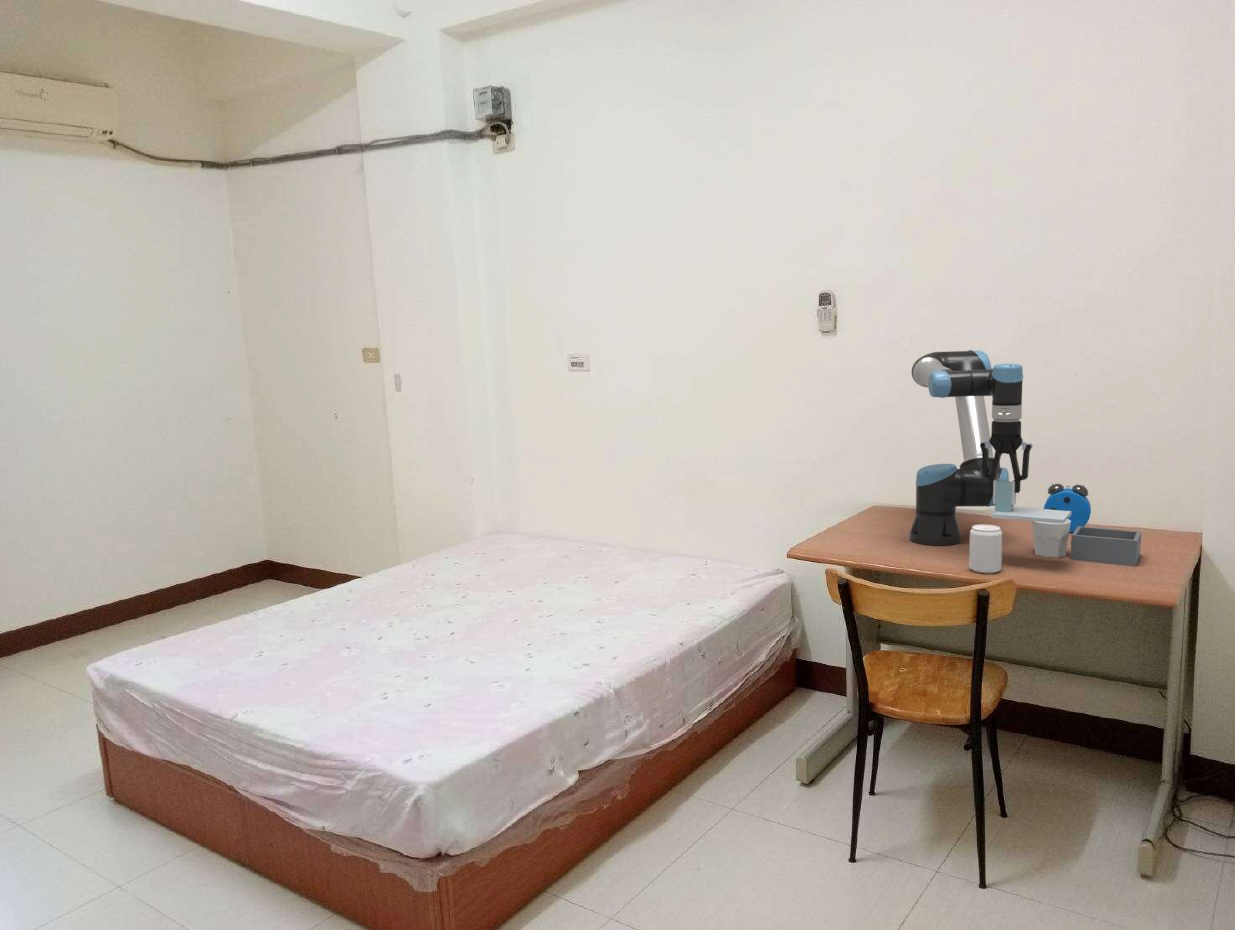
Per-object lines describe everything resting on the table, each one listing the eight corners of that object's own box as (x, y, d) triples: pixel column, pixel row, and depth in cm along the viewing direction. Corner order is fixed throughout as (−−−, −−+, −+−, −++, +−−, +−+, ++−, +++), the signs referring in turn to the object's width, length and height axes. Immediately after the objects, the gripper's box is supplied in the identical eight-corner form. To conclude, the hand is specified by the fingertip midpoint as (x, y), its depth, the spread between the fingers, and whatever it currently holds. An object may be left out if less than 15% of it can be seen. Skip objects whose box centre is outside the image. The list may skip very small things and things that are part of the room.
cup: (1023, 552, 263) (1024, 519, 261) (1048, 547, 266) (1049, 515, 265) (1051, 560, 253) (1053, 525, 252) (1077, 555, 257) (1078, 521, 256)
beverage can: (963, 567, 250) (964, 525, 248) (992, 565, 251) (993, 523, 249) (977, 575, 242) (978, 531, 240) (1006, 573, 243) (1008, 529, 241)
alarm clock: (1090, 530, 284) (1092, 483, 282) (1089, 534, 279) (1091, 487, 277) (1044, 527, 291) (1045, 481, 288) (1042, 531, 286) (1044, 484, 283)
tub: (1070, 559, 253) (1071, 535, 252) (1076, 549, 263) (1077, 526, 262) (1135, 566, 244) (1137, 541, 243) (1140, 555, 254) (1141, 531, 253)
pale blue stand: (991, 517, 249) (992, 485, 247) (1001, 509, 259) (1002, 478, 258) (1063, 523, 238) (1064, 489, 237) (1071, 514, 249) (1072, 482, 248)
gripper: (970, 420, 250) (969, 503, 254) (1037, 422, 241) (1035, 508, 244) (977, 418, 256) (975, 498, 260) (1042, 419, 247) (1040, 503, 250)
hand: (1004, 503), depth 252 cm, fingers closed on pale blue stand, 4 cm apart
